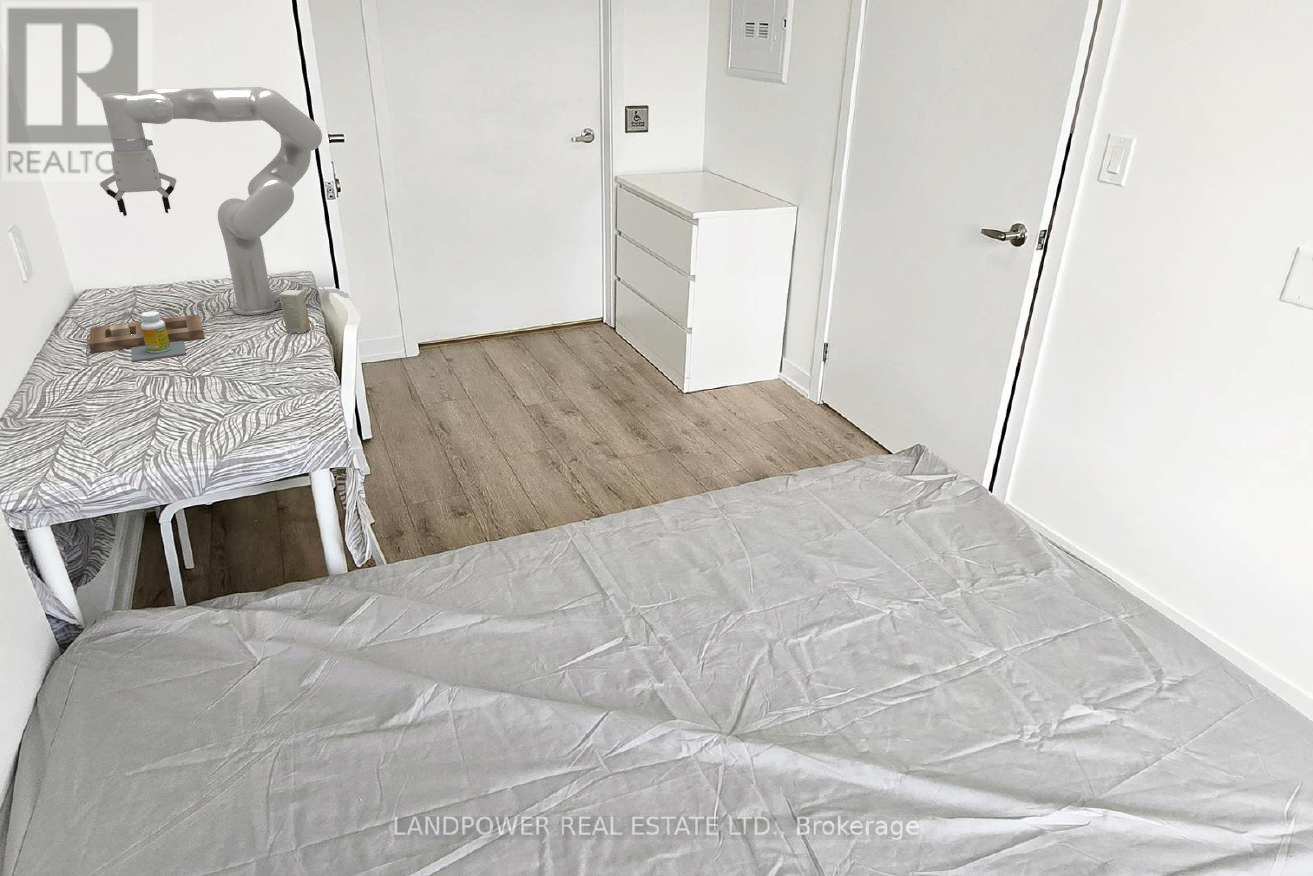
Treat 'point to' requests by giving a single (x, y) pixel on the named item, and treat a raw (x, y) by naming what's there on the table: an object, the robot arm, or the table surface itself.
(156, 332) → the supplement bottle
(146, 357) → the rubber mat
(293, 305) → the box
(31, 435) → the table surface
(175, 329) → the puzzle board
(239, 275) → the robot arm
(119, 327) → the maple block
